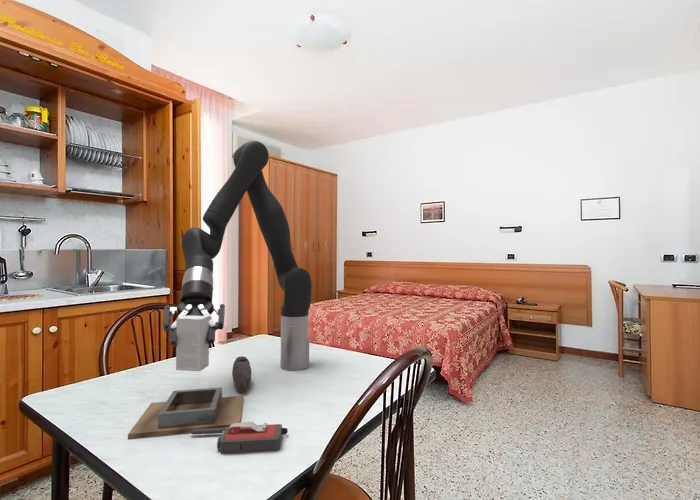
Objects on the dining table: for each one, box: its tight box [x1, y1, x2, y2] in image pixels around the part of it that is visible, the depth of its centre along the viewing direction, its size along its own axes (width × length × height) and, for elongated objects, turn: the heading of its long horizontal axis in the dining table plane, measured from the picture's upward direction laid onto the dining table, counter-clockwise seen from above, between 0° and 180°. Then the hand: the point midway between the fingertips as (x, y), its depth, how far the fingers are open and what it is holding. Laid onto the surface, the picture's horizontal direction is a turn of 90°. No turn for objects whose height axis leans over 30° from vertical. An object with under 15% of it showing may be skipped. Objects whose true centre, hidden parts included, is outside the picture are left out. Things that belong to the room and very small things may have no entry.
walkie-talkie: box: [190, 421, 288, 455], centre depth 75 cm, size 9×4×20 cm
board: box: [127, 395, 245, 440], centre depth 86 cm, size 22×16×1 cm
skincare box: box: [175, 316, 210, 372], centre depth 86 cm, size 6×4×12 cm
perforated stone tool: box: [231, 356, 252, 393], centre depth 106 cm, size 15×5×7 cm, turn 17°
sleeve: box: [158, 386, 223, 429], centre depth 86 cm, size 11×13×3 cm
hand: (192, 344), depth 85 cm, fingers closed on skincare box, 7 cm apart
